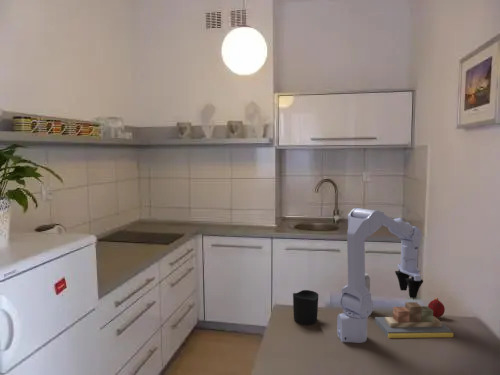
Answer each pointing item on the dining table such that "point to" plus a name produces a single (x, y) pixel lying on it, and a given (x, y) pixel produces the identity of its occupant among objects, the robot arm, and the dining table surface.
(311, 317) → the pen holder
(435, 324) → the board
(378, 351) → the dining table surface
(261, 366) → the dining table surface
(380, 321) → the dock
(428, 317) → the block
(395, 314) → the block
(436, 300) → the onion
